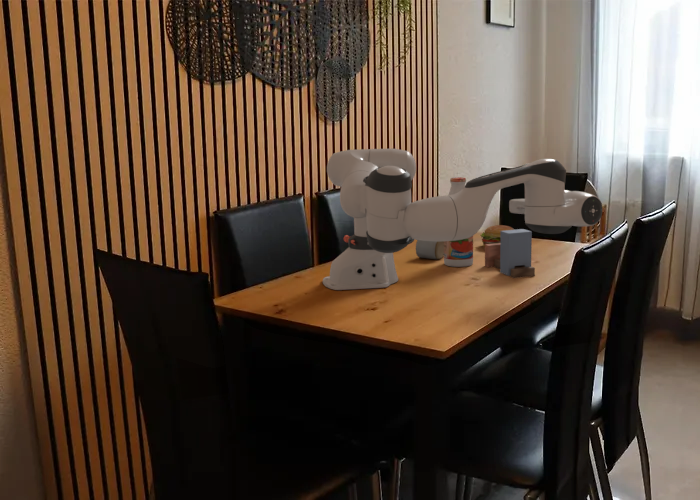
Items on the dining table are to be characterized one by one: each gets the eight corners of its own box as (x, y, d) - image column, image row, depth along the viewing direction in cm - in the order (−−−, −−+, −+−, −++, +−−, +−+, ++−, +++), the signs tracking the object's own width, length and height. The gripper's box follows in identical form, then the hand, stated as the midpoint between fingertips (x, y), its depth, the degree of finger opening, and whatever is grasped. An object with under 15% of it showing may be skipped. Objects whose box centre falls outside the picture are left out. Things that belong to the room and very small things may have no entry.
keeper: (508, 275, 209) (508, 233, 207) (500, 272, 214) (500, 230, 211) (531, 273, 211) (531, 231, 209) (522, 269, 216) (523, 228, 213)
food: (478, 251, 248) (478, 228, 246) (482, 243, 261) (482, 222, 260) (518, 252, 244) (518, 229, 242) (520, 244, 257) (520, 222, 256)
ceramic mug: (436, 261, 233) (436, 238, 231) (415, 259, 237) (415, 236, 236) (451, 256, 241) (451, 234, 240) (430, 254, 246) (430, 232, 245)
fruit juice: (461, 259, 234) (461, 175, 229) (479, 264, 226) (479, 177, 220) (438, 263, 230) (437, 178, 224) (455, 268, 222) (454, 180, 216)
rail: (513, 278, 207) (513, 254, 206) (484, 265, 224) (485, 244, 223) (534, 275, 209) (534, 252, 207) (504, 263, 226) (504, 242, 225)
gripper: (522, 220, 184) (499, 216, 197) (592, 215, 189) (564, 211, 202) (522, 196, 183) (498, 193, 196) (592, 192, 188) (564, 189, 201)
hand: (532, 202), depth 199 cm, fingers open, 8 cm apart
